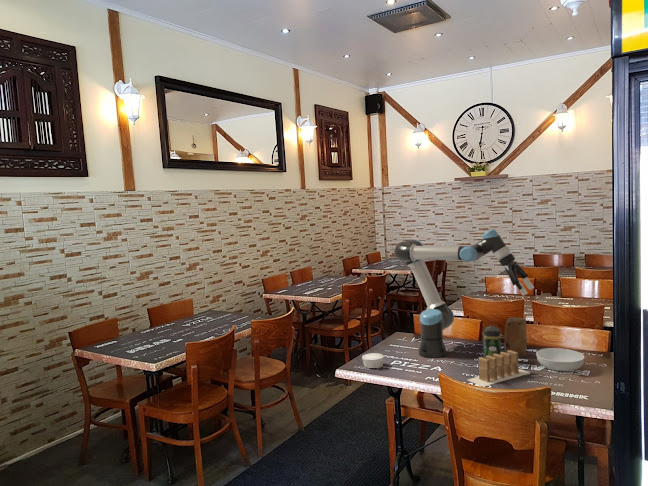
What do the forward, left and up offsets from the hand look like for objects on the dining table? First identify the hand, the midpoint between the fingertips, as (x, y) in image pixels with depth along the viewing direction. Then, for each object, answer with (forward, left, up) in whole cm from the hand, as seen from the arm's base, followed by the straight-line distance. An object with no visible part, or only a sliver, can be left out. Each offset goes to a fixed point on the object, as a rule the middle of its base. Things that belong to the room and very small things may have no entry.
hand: (528, 291), depth 245 cm
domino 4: (-20, -25, -34) cm, 46 cm away
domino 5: (-16, -22, -34) cm, 43 cm away
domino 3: (-24, -27, -34) cm, 49 cm away
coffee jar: (-21, -6, -35) cm, 41 cm away
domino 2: (-28, -29, -34) cm, 52 cm away
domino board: (-24, -27, -35) cm, 50 cm away
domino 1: (-31, -31, -34) cm, 56 cm away
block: (-6, +5, -35) cm, 36 cm away
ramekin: (-81, -4, -35) cm, 88 cm away
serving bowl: (+8, -16, -35) cm, 39 cm away
